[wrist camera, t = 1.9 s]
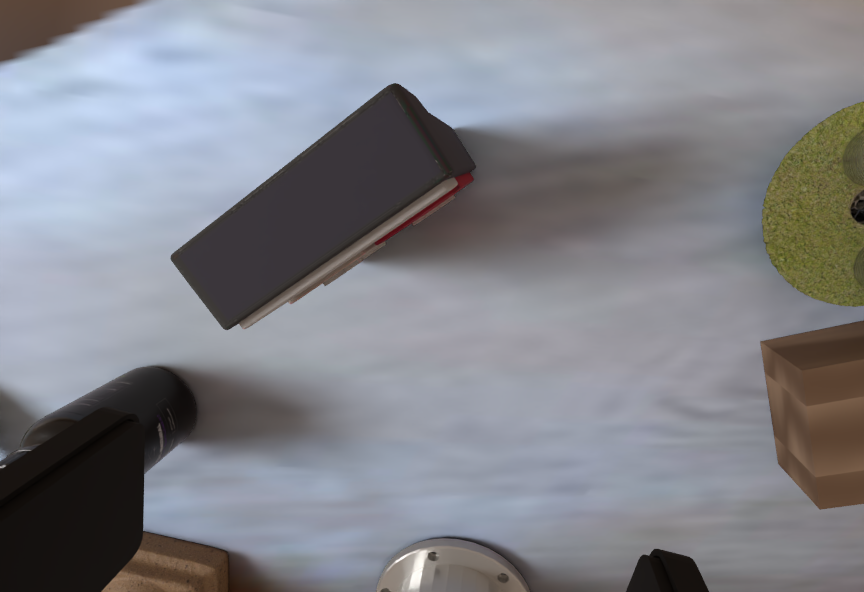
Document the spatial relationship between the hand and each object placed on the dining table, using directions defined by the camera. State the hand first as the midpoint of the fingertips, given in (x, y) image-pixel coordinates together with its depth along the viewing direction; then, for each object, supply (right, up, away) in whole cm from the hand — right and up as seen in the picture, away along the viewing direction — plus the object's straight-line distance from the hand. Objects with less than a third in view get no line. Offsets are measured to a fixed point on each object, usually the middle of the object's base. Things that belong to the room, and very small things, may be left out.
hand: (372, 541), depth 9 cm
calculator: (-1, +11, +23) cm, 26 cm away
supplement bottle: (-20, -4, +30) cm, 36 cm away
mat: (+25, +10, +19) cm, 33 cm away
